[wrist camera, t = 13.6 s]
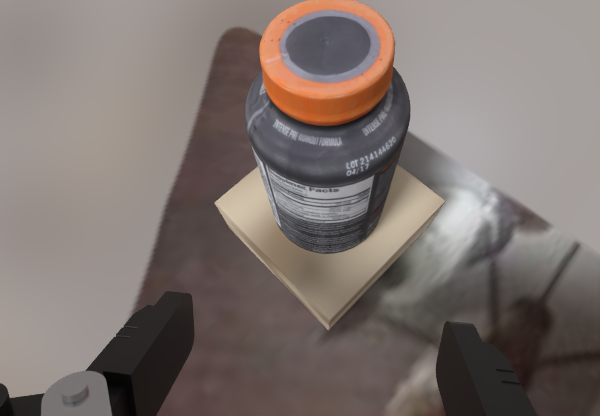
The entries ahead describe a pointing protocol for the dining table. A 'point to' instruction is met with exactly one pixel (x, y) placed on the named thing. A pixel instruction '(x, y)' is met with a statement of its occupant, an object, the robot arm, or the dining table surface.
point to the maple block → (338, 266)
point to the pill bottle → (327, 121)
